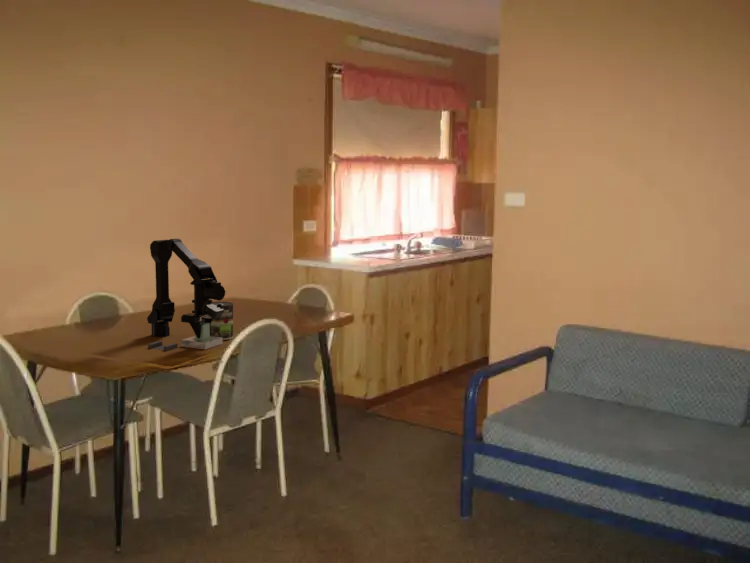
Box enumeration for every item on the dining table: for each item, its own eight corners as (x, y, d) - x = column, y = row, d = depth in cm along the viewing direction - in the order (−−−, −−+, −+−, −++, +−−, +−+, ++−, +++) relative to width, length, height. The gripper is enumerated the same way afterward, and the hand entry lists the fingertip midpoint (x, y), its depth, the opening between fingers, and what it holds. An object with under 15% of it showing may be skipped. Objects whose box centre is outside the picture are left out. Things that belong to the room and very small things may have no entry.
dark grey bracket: (148, 350, 308) (148, 344, 308) (158, 347, 314) (158, 341, 313) (167, 353, 305) (167, 346, 304) (177, 350, 310) (177, 343, 310)
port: (181, 348, 312) (181, 339, 312) (199, 343, 322) (199, 334, 322) (205, 352, 308) (205, 343, 307) (222, 346, 318) (222, 337, 317)
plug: (194, 344, 314) (194, 319, 312) (201, 342, 317) (200, 318, 316) (203, 345, 312) (203, 321, 311) (209, 343, 316) (209, 319, 314)
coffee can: (237, 338, 332) (237, 304, 330) (214, 341, 326) (214, 306, 324) (226, 333, 340) (226, 300, 338) (203, 336, 334) (203, 302, 332)
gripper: (204, 302, 300) (204, 344, 303) (233, 295, 317) (233, 334, 320) (179, 300, 305) (180, 340, 307) (209, 293, 322) (209, 331, 324)
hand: (202, 337), depth 314 cm, fingers closed on plug, 4 cm apart
